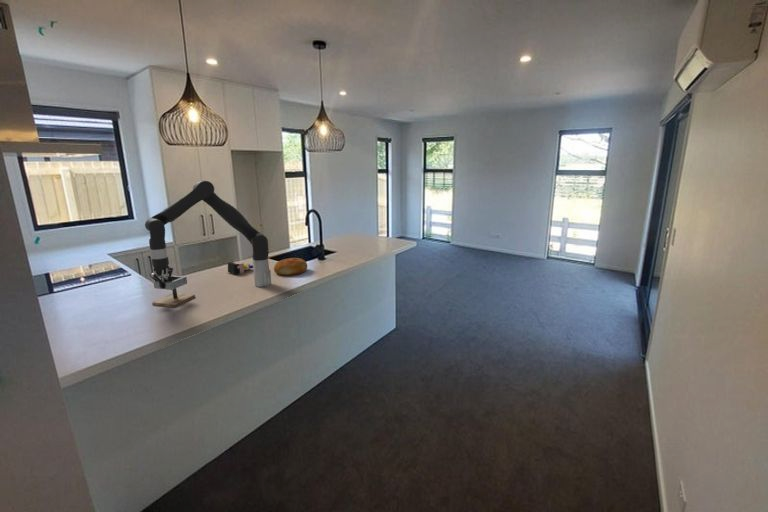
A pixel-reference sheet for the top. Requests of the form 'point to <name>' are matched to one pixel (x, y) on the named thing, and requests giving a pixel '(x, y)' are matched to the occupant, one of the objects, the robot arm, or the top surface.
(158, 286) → the link
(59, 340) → the top surface
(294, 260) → the bread
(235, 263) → the toy
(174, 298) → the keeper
